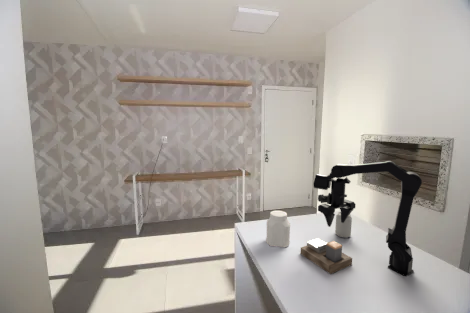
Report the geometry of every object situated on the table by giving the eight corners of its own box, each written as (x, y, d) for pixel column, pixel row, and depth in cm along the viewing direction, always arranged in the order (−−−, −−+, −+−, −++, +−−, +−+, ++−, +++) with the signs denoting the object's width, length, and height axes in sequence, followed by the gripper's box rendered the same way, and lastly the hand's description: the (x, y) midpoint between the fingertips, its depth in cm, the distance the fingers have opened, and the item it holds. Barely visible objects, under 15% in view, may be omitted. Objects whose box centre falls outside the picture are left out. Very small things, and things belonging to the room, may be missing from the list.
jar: (265, 246, 104) (266, 216, 102) (266, 236, 114) (267, 209, 112) (290, 248, 102) (291, 217, 100) (288, 238, 112) (289, 210, 110)
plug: (332, 260, 93) (333, 240, 92) (340, 265, 89) (342, 245, 88) (325, 262, 91) (326, 243, 90) (334, 268, 87) (335, 247, 86)
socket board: (351, 264, 89) (352, 258, 89) (330, 274, 83) (330, 266, 83) (320, 246, 103) (320, 240, 103) (300, 253, 98) (300, 247, 97)
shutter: (330, 249, 95) (330, 243, 95) (319, 253, 92) (319, 247, 91) (317, 242, 101) (317, 236, 101) (306, 246, 98) (307, 240, 98)
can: (347, 232, 119) (348, 211, 118) (353, 238, 112) (354, 216, 110) (333, 231, 120) (334, 210, 118) (338, 238, 112) (339, 216, 111)
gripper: (336, 185, 109) (334, 215, 111) (309, 189, 100) (307, 221, 102) (357, 190, 99) (355, 223, 101) (329, 196, 91) (327, 231, 92)
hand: (335, 224), depth 99 cm, fingers open, 9 cm apart
